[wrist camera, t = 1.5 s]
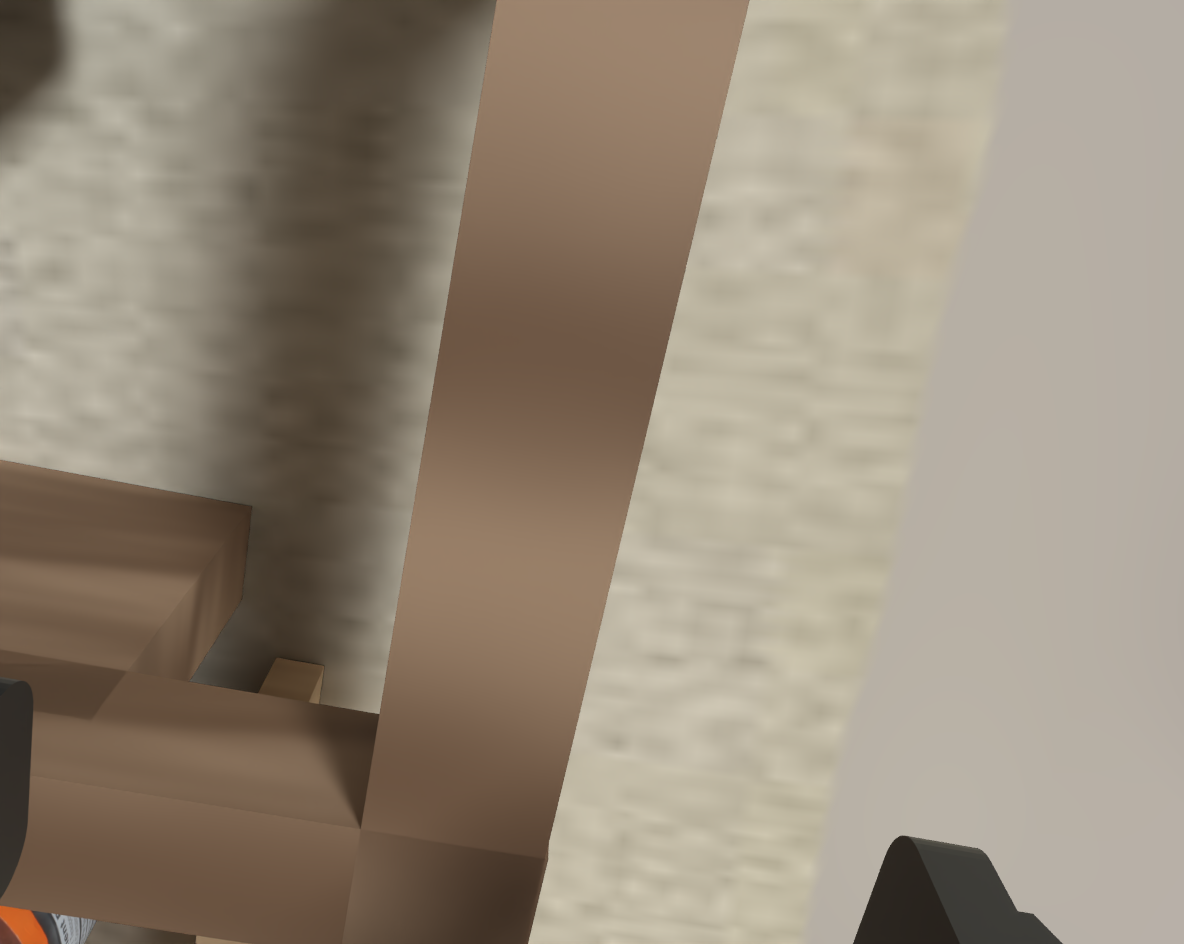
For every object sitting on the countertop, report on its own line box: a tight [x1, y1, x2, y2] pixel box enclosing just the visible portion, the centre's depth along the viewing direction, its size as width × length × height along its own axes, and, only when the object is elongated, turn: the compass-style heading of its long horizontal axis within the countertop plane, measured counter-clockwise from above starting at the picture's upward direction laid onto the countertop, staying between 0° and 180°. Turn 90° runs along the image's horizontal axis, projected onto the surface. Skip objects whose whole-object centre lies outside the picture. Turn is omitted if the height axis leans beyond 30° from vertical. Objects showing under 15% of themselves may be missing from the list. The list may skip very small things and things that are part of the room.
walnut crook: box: [0, 0, 749, 944], centre depth 18 cm, size 21×15×10 cm
